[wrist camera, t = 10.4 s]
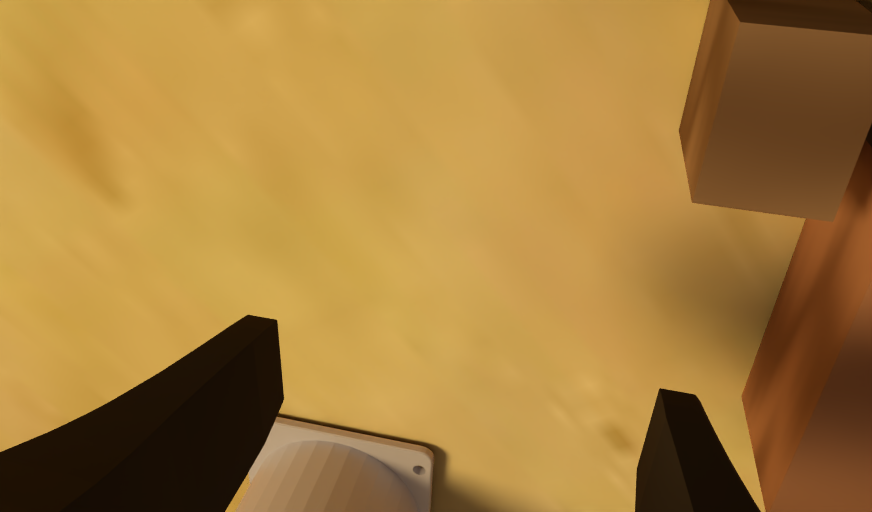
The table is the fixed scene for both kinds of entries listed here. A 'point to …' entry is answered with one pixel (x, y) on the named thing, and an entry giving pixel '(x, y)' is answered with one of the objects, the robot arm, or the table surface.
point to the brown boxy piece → (819, 366)
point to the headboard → (778, 105)
